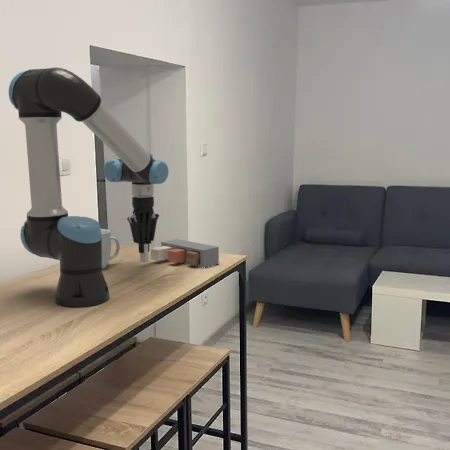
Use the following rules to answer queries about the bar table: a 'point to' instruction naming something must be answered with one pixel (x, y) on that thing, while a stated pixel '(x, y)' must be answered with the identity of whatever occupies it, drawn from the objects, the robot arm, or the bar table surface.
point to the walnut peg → (193, 257)
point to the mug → (108, 247)
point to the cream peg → (160, 252)
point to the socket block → (207, 252)
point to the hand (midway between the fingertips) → (144, 261)
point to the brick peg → (177, 255)
